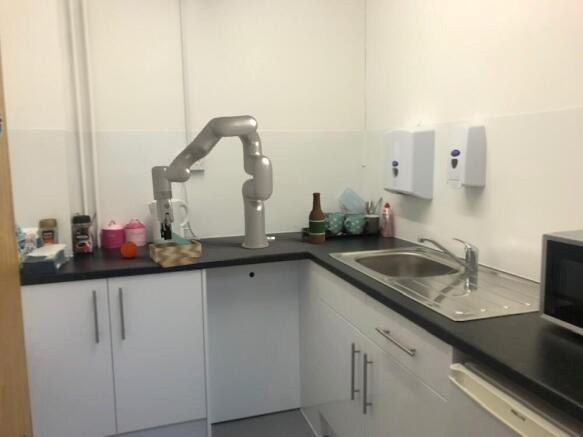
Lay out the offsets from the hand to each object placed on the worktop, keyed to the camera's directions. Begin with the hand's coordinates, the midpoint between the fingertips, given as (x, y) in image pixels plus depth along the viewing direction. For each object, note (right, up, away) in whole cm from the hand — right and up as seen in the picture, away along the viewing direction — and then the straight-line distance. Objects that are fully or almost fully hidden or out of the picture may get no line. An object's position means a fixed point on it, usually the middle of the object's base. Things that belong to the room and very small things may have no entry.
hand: (166, 238), depth 197 cm
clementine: (-17, -9, +4) cm, 19 cm away
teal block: (+3, -2, +2) cm, 4 cm away
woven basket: (+3, -8, +3) cm, 9 cm away
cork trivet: (+7, -10, -8) cm, 14 cm away
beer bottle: (+65, -3, +28) cm, 71 cm away
